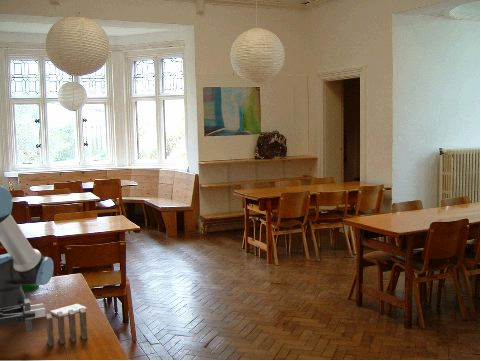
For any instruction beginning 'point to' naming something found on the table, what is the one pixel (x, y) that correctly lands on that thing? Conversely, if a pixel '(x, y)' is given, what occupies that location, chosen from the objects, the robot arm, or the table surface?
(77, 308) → the external hard drive
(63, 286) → the table surface
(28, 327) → the black domino
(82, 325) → the walnut domino
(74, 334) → the walnut domino
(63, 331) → the walnut domino
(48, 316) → the walnut domino
